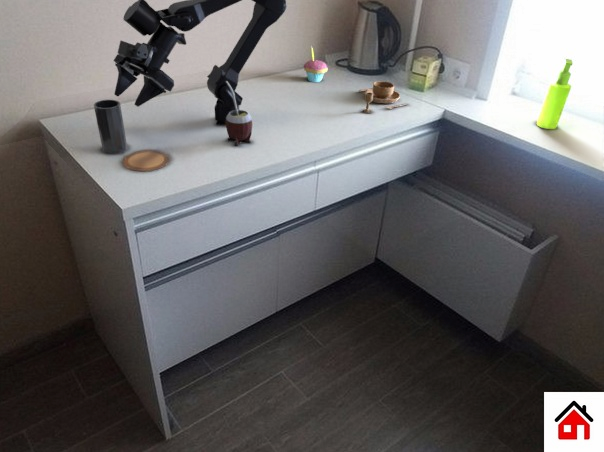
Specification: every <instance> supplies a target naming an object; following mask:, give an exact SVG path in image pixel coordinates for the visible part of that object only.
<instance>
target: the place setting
mask: <svg viewBox="0 0 604 452" xmlns="http://www.w3.org/2000/svg"><path fill="white" fill-rule="evenodd" d="M394 89H395V85H394V83H391V82H389V81H384V80H380V81H375V82H374V83H373V85H372V88H367V89H363V88H361V89H358V91H359V92H361V93H364V101H365V103H366V105H365V109H363V110H362V112H363V113H364V114H372V110H371V109H370V103H372V102H373V103H376V104H386V105H387V104H388V105H389V104H393V103H396V102H398V101H399V100H400V98H401V94H400V92H398V91H396V90H394ZM407 105H408V104H407V103H405V104H398V105H393V106H385V108H386V109H389V110H392V109H393V108H397V107H404V106H407Z"/></svg>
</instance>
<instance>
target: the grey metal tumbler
mask: <svg viewBox="0 0 604 452" xmlns="http://www.w3.org/2000/svg"><path fill="white" fill-rule="evenodd" d="M93 108H94V113H95V119H96V124H97V128H98V134H99V139H100V145H101V149H102V152H103V153H104V154H108V155H119V154H122V153H124V152H126V151H127V150H128V143H127V136H126V131H125V126H124V125H125V124H124V119H123V112H122V107H121V102H120V101H118V100H116V99H102V100H98V101H95V102H94V104H93Z"/></svg>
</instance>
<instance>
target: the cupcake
mask: <svg viewBox="0 0 604 452" xmlns="http://www.w3.org/2000/svg"><path fill="white" fill-rule="evenodd" d="M310 52H311V53H310V54H311V59H310V60H307V61H306V62H305V63H304V64H303V70H304V71H305V73H306V76H307V80H308V81H309V82H311V83H319V82H321V81H322V79H323V77H324V74H325V73H327V72H328V64H326V62H324V61H323V60H320V59H315V55H314V48H313V46H312V45H310Z"/></svg>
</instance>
